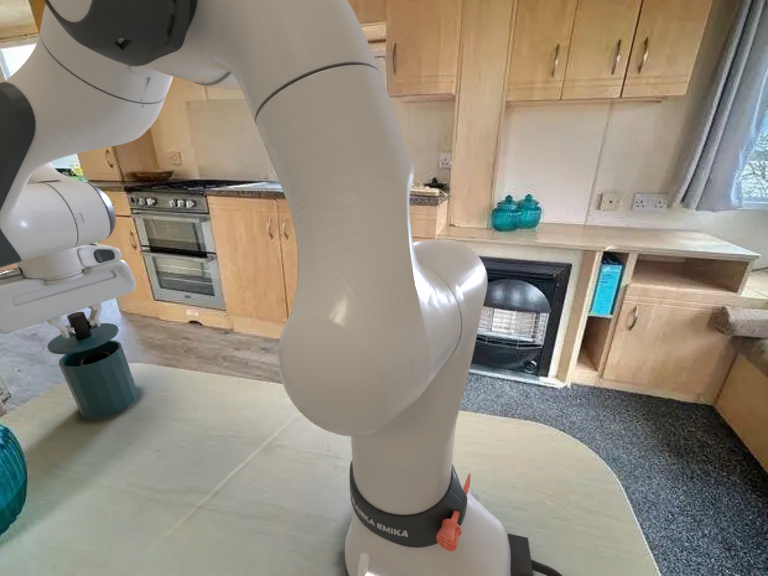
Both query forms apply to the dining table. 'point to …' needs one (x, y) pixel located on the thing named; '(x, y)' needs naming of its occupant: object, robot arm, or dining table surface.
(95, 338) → the lid
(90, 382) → the pot
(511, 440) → the dining table surface
